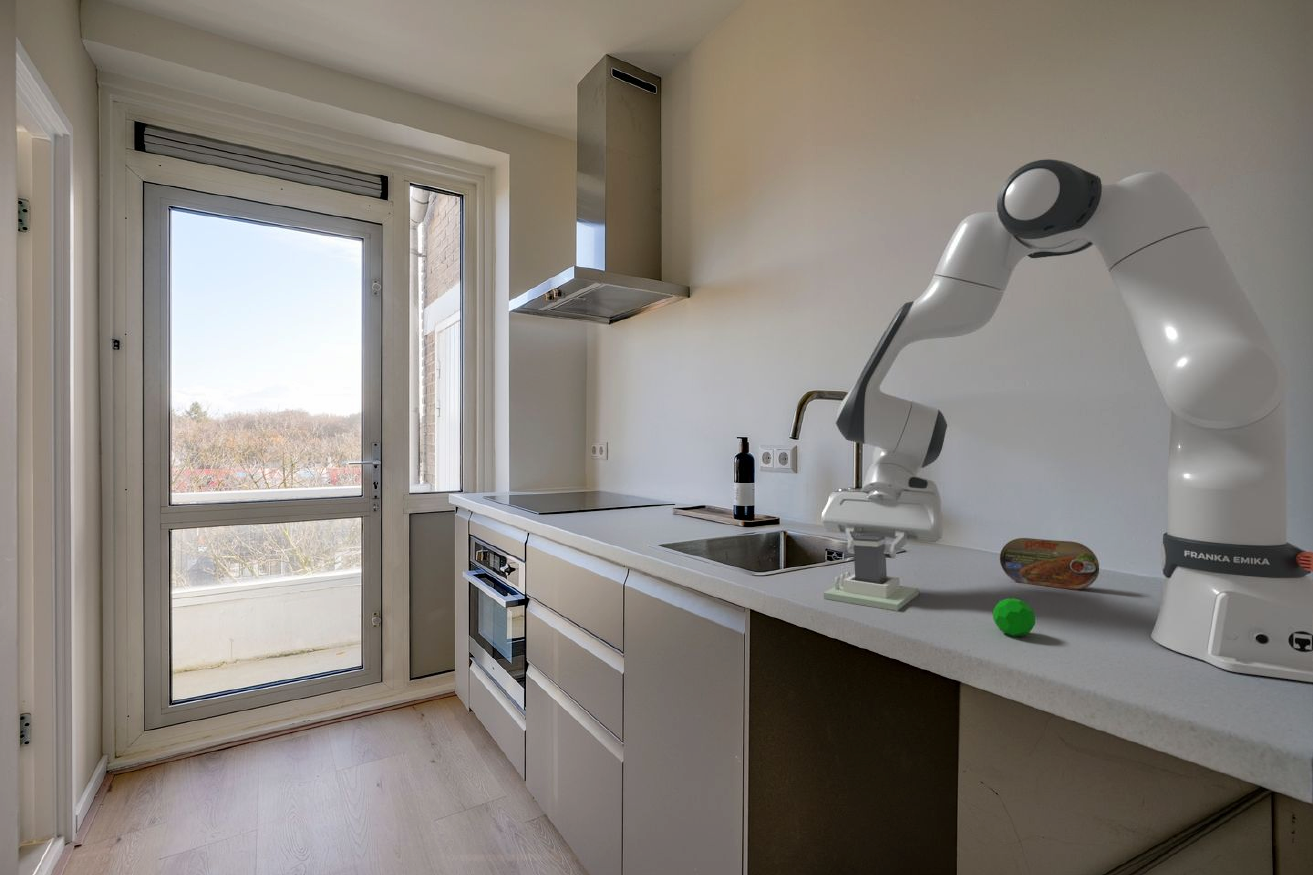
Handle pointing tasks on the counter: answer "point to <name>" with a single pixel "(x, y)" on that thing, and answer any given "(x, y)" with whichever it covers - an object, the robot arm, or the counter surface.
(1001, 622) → the polyhedron
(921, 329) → the robot arm
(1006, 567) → the tin
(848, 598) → the board
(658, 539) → the counter surface
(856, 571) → the dark grey tall block
